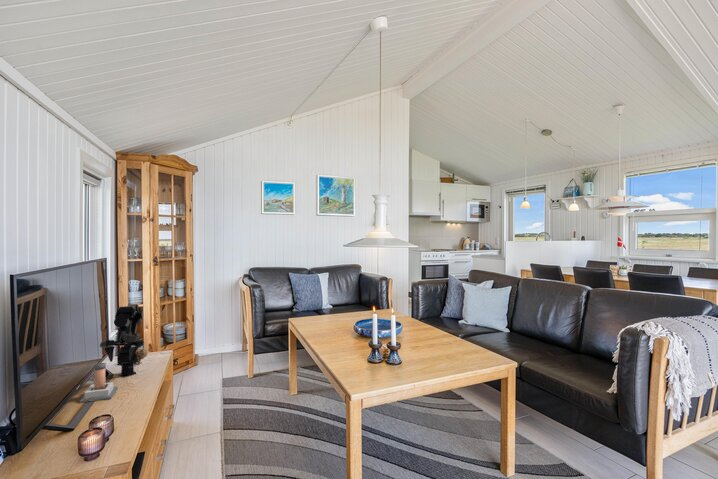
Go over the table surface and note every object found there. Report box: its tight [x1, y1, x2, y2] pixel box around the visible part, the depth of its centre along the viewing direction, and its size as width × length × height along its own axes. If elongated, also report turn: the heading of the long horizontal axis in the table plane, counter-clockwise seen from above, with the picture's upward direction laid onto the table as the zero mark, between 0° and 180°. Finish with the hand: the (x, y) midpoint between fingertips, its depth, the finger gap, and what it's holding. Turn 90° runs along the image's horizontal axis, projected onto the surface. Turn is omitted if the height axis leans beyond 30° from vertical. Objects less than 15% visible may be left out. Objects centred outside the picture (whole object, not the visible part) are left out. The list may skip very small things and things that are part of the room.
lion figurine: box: [136, 348, 149, 366], centre depth 209 cm, size 15×5×9 cm, turn 97°
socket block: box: [79, 381, 119, 404], centre depth 169 cm, size 12×12×4 cm
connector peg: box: [93, 362, 107, 390], centre depth 169 cm, size 4×4×14 cm
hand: (121, 361), depth 179 cm, fingers open, 9 cm apart
